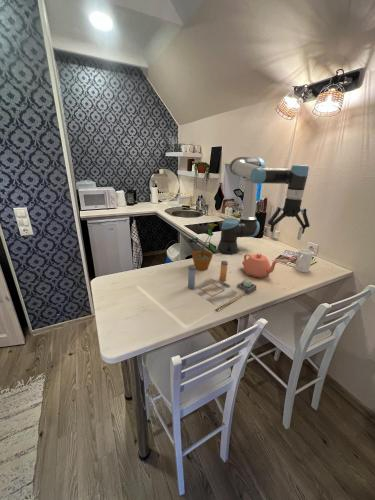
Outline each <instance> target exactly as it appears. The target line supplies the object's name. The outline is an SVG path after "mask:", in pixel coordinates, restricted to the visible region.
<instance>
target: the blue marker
mask: <svg viewBox="0 0 375 500" xmlns="http://www.w3.org/2000/svg"><path fill="white" fill-rule="evenodd" d="M187 276H188V279H187V287H188V289H189V290H190V289H194V286H195V284H196V267H195V266H194V264H192V265H191V264H190V265H188V275H187Z"/></svg>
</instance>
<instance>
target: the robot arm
mask: <svg viewBox="0 0 375 500" xmlns="http://www.w3.org/2000/svg"><path fill="white" fill-rule="evenodd" d="M309 169H310V167H309V165H308V164H292V166H291V168H289V167H288V168H287V167H276V168H275V167H273V168H272V167H266V164H265V160H264V159H263V158H261V157H256V156H255V157H254V156H253V157H252V156H251V157H250V156H248V157H247V156H246V157H245V156H241V157H240V156H239V157H235V158H233V160H231V162H230V164H229V171H230V173H231V174H232V175H235V176H237V177H239V176H242V180H243V181H244V189H243V201H242V202H243V203H242V204H243V205H242V216H240V219H238V218H227V219H226V218H225V220H223V221H222V222H221V227H220V228H221V229H220V230H221V231H220V232H221V233H220V241H219V243H218V244H217V247H216V250H217V252H218V253H220V254H223V255H229V256H230V255H236V254H237V253H239V248H238V241H237V240H238V238H251V237H252V238H253V237H256V236H257V235H258V233H259V232H260V222H259V221H258V219H257V216H256V208H257V207H256V205H257V196H258V195H257V194H258V184H282V185H287V190H286V193H285V197H286V198H285V200H284V205H283V207H280V206H277V207H276V209H275V212H274V213H273V214H272V215H271V218H270V219H269V220H268V222H267V224H268V225H270V230H269V231H270V232H271V234H270V238H272V239H274V237H275V232H276V225H277V224H278V223H280V222H281V221H282V220H283V219H284V218H286V217H287V218H290V217H291V218H294V217H295V219H296V220H297V222H298V224H299V225H300V226H299V228H298V233H297V238H296V239H297V240H298V241H301V239H302V235H303V234H304V233H305V229H306V228H310V227H311V225H310V221H309V218H308V215H307V208H305V207H303V208H301V205H302V201H303V197H304V192H305V188H306V183H307V180H308V176H309ZM280 213H281V214H280ZM299 213H301V215H302V218H303V219H302V218H301V217H300V215H299ZM279 214H280V215H279Z"/></svg>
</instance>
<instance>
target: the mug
mask: <svg viewBox="0 0 375 500" xmlns="http://www.w3.org/2000/svg"><path fill="white" fill-rule="evenodd" d="M313 257H314V252H313V251H312V250H310V249H305V248H303V249H302V248H300V249H298V253H297V257H296V261H295V264H294V269H295V270H296V271H298V272H302V273H308V272H310V266H311V263H312V260H313Z"/></svg>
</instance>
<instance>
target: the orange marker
mask: <svg viewBox="0 0 375 500" xmlns="http://www.w3.org/2000/svg"><path fill="white" fill-rule="evenodd" d="M228 264H229V263H228V261H227V260H221V261H220V272H219V273H220V274H219V282H221V281H223V282H226V281H227V274H228V273H227V271H228Z"/></svg>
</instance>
